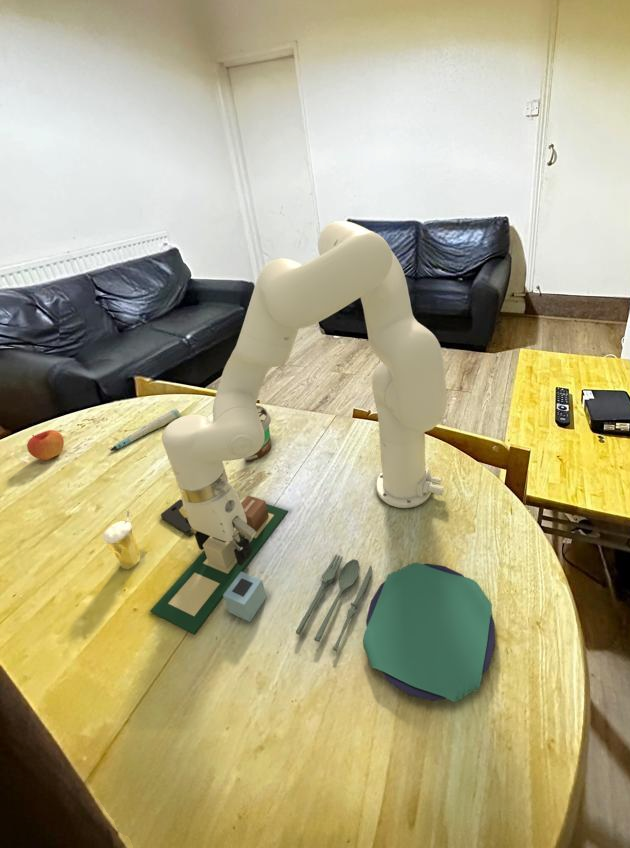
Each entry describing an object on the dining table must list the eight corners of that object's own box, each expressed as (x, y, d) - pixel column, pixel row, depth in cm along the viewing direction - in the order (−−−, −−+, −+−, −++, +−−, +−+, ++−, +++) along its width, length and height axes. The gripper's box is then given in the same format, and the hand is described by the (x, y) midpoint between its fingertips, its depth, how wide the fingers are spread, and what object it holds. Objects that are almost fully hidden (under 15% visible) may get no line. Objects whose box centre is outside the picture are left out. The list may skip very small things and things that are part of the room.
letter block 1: (242, 548, 80) (237, 531, 78) (226, 569, 76) (220, 552, 74) (224, 541, 81) (219, 525, 79) (207, 561, 78) (202, 544, 76)
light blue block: (266, 596, 71) (262, 579, 69) (249, 622, 68) (244, 604, 66) (246, 588, 73) (240, 570, 71) (228, 612, 69) (222, 594, 67)
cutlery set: (483, 734, 53) (484, 725, 52) (286, 648, 64) (284, 639, 63) (502, 591, 70) (503, 582, 69) (343, 541, 80) (342, 533, 79)
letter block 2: (269, 516, 86) (265, 500, 84) (255, 533, 83) (250, 517, 81) (251, 510, 88) (247, 494, 86) (237, 527, 84) (232, 511, 82)
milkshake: (153, 550, 81) (137, 513, 77) (130, 575, 76) (112, 537, 72) (135, 544, 82) (119, 508, 78) (112, 568, 78) (93, 531, 74)
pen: (176, 414, 124) (173, 406, 123) (182, 417, 122) (179, 409, 121) (108, 451, 110) (104, 442, 109) (113, 455, 108) (110, 446, 107)
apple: (73, 452, 110) (62, 428, 107) (41, 469, 105) (28, 444, 101) (61, 443, 114) (50, 420, 111) (30, 460, 108) (17, 435, 105)
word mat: (287, 511, 88) (287, 510, 88) (194, 634, 66) (193, 632, 66) (250, 499, 92) (250, 498, 91) (150, 612, 70) (149, 610, 70)
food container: (268, 465, 101) (261, 432, 97) (244, 466, 101) (235, 433, 97) (281, 433, 112) (274, 402, 108) (258, 434, 113) (251, 403, 108)
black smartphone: (188, 533, 83) (159, 515, 88) (189, 536, 83) (160, 517, 88) (209, 515, 87) (180, 498, 92) (210, 518, 87) (181, 501, 92)
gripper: (258, 479, 71) (275, 548, 78) (183, 457, 77) (205, 522, 85) (227, 512, 65) (249, 584, 72) (149, 485, 71) (176, 553, 78)
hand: (225, 550), depth 78 cm, fingers open, 8 cm apart
